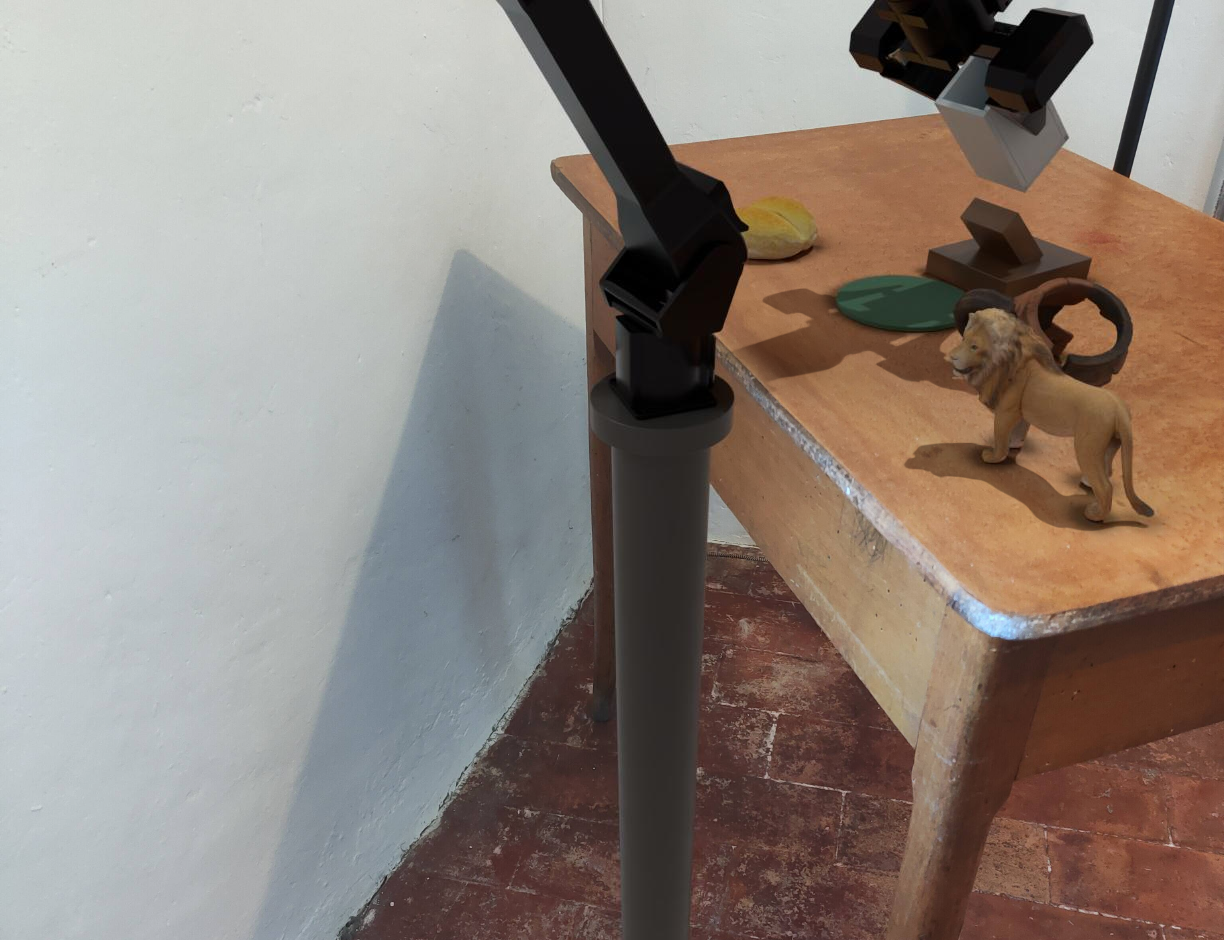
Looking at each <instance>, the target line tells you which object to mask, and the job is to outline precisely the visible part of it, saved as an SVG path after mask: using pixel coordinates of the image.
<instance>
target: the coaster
mask: <svg viewBox="0 0 1224 940" xmlns="http://www.w3.org/2000/svg"><path fill="white" fill-rule="evenodd" d="M837 291H838V292H837V293H836V298H835V302H836V306H837V308H838V309H839V311H840V312H842V313H843V315H845V316H847V317H848V318H850V319H852V320H853V321H855V322H858V323H861V324H863V325H867V326H870V327H873V328H877V329H881V330H882V329H883V330H889V331H897V332H907V333H909V332H912V333H916V332H917V333H918V332H935V331H940V330H941V331H942V330H947V329H951V328H954V327H956V326H955V322H954V315H953V313H952V311H953V308H954V306H955V304H956V302H958V301H959V300H960V298H961V297H962V296H963V295H964V294H965V293H966V292H965V291H963V290H961V288H958V287H956V286H955V285H953V284H952V285H951V284H949V283H946V282H943V281H941V280H936V279H931V278H927V277H922V276H921V277H920V276H915V275H914V276H913V275H899V274H898V275H897V274H896V275H895V274H892V275H891V274H890V275H888V274H887V275H876V276H875V275H874V276H868V277H862V278H859V279H856V280H853V281H850V282H849V283H846V284H844V286H841V288H840V289H839V290H837Z"/></svg>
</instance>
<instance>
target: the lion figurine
mask: <svg viewBox="0 0 1224 940" xmlns="http://www.w3.org/2000/svg"><path fill="white" fill-rule="evenodd" d="M948 360H949V362H950V363H952V365H953V366H952V373H953V375H954V376H955V377H957V378H962V377H964V379H965V381H966V382H967V384H968V385H969V386H971V387H972V388H973V389H974V390H975V391H977V392H978V396H979V397H978V401H979V402H980V404H982V405H983V406H984V407H987V408H988V409H990V410H992V411H994V419H993V435H994V447H993V448H986V449H983V451H982V454H981V458H982V459H983V462H985V463H989V464H998V463H1001V462H1002V461H1004V460H1005V459H1006V458H1007V456H1008V455H1009V452H1010V449H1012V448H1015V449H1017V448H1021V447H1022V446H1023V445H1024V444H1025V441H1026V440H1027V436H1028V432H1029V430H1030V427H1031V426H1033V427H1034V428H1036V429H1038V430H1040V431H1041V432H1043V433H1045V434H1047V435H1050V436H1053V437H1058V438H1073V449H1074V453H1075V459H1076V463H1077V465H1078V467H1079V470H1080V471H1081V472H1082V476H1081V482H1082V483H1083V485H1085V486H1086V487H1089V488H1091V490H1092V492H1093V494H1094V497H1095V499H1096V503H1088V504H1087V505H1086V506H1085V509H1084V516H1085V517H1086V519H1087V520H1091V521H1094V522H1100V521H1102V520H1104V519H1106V518H1107V517H1108V516H1109V514H1110V513H1111V511H1112V506H1113V505H1112V504H1113V492H1114V491H1113V490H1114V487H1113V484H1112V483H1111V481H1110V478H1112V476H1113V473H1114V471H1113V461H1114V458H1115V456H1116V455H1117V453H1118V452H1119V450H1120V461H1121V462H1120V463H1121V474H1122V483H1123V489H1124V490H1123V491H1124V493H1125V496H1126V499H1127V500H1128V502H1129V504H1130V506H1131V508H1132V509H1133V510H1134V511H1135V512H1136V514H1138V515H1139V516H1144V517H1146V518H1152V517H1154V516H1155V510H1154V508H1152V507H1151V506H1150V505H1149V504H1147V503H1146V502H1144V501H1143V500H1142V499H1141V498H1139V496H1137V494H1136V491H1135V488H1134V483H1133V458H1134V457H1133V454H1134V438H1133V429H1132V428H1133V426H1132V412H1131V409H1130V407H1129V406H1128V403H1127V402H1126V401H1125V400H1124V398H1123V397H1122V396H1120V394H1119V393H1118V392H1116V391H1114V390H1113V389H1109V388H1103V387H1095V386H1091V385H1088V384H1085V383H1083V382H1080V381H1078V380H1075V379H1074V378H1072V377H1070V376H1068V375H1066V374H1064V373H1062V372H1061V371H1060V369H1059V368H1058V367H1057V365H1056V363H1057V362H1056V360H1055V357H1054V355H1053V354H1052V352H1051V350H1050V349H1049V348H1048V347H1047V344H1045V343H1044V341H1043V339H1042V338H1041V337H1039V336H1037V335H1036V334H1034V333H1033V329H1032V328H1031V327H1029V326H1028V325H1026V324H1025V323H1024V321H1022V320H1020V319H1018V318H1016V317H1015V315H1014V314H1009V313H1006V312H1005V311H1004V310H1002V309H996V308H992V309H985V310H983V311H977V312H975V313H969V321H968V324H967V326H966V328H965V331H964V336H963V337H962V338H961V341H960V342H959V343H958V345H956V346H955V347H953V348H951V349H950V350H949V351H948ZM1055 362H1056V363H1055Z"/></svg>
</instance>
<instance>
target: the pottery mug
mask: <svg viewBox="0 0 1224 940" xmlns="http://www.w3.org/2000/svg"><path fill="white" fill-rule="evenodd" d="M1086 299H1087V301H1089V302H1091V303H1092V304H1094V305H1095V306H1097V308H1098V310H1099V315H1100V316H1101V317H1103V318H1104V319H1105V320H1107V321H1109V322H1110V323H1111V324H1113V325H1114V327H1115V330H1116V341H1115V343H1114V345H1113V346H1112V347H1111V348H1110V349H1109V350H1106V351H1105V352H1102V353H1099V354H1094V355H1081V354H1075V353H1072V352H1071V353H1068V354H1067V356H1066V359H1065V362H1064V364H1063V365H1061V364H1060V363H1058V362H1056V361H1055V363H1056V365H1057V367H1058V368H1059V369H1060V371H1061V372H1062V373H1064V374H1066V375H1068V376H1070V377H1072V378H1074V379H1075V380H1078V381H1080V382H1083V383H1085V384H1088V385H1091V386H1095V387H1099V388H1102V387H1103V386H1105V385H1108V384H1110V382H1111V381H1112V380H1113V379H1112V378H1113V377H1112V376H1114V375H1116V376H1117V375H1118V374H1119V373H1120V372H1121V370H1122V368H1123V367H1124V364H1125V362H1126V360H1127V359H1126V358H1127V357H1128V354H1129V347H1130V345H1131V344H1132V341H1133V336H1134V324H1133V321H1132V318H1131V315H1130V312H1129V310H1128V308H1127V306H1125V303H1124V302H1123V301H1122V300H1121V299H1120V298H1119V297H1118V296H1117V295H1116V294H1115V293H1113V292H1112V291H1111V290H1109V289H1107V288H1106V287H1104V286H1103V285H1100V284H1098V283H1094V282H1092V281H1089V280H1083V279H1078V278H1065V279H1064V278H1057V279H1054V280H1050V281H1047V282H1045V283H1043V284H1042V285H1040V286H1039V287H1038V288H1036V289H1033V290H1031V291H1028V292H1026V293H1024V294H1022V295H1020V296H1016V297H1014V298H1012V297H1008V296H1005V295H1003V294H1001V293H999V292H997V291H995V290H991V289H983V288H980V289H975V290H971V291H967V292H965V294H964V295H963V296H962V297H961V298H960V300H959V301H958V302H956V304H955V306H954V308H953V311H952V313H953V315H954V322H955V326H954V327H955V328H956V330H957V332H958V333H959V335H960V337H962V338H963V336H964V331H965V328H966V326H967V324H968V321H969V313H975V312H977V311H983V310H985V309H992V308H996V309H1002V310H1004V311H1005V312H1006V313H1009V314H1014V315H1015V317H1016V318H1018V319H1020V320H1022V321H1024V323H1025V324H1026V325H1028V326H1029V327H1031V328H1032V329H1033V333H1034V334H1036V335H1037V336H1039V337H1041V338H1042V339H1043V341H1044V343H1045V344H1047V347H1048V348H1049V349H1050V350H1051V352H1052V355H1053V356H1055V357H1061V355H1062V353H1063V352H1065V350H1066V348H1067V346H1068V345H1069V344H1070V343H1071V342H1072V341H1073V339H1074V338H1075V335H1074V334H1073V332H1071V331H1069V330H1067V329H1065V328H1063V327H1061V326H1060V325H1058V324H1057V323H1055V322H1054V321H1053V320H1054V318H1055V317H1056V316H1057V315H1058V314H1059V312H1061V311H1062V310H1063V309H1064V307H1066V306H1068V307H1069V306H1070V307H1071V306H1076V305H1078V304H1080V303H1082V302H1085V301H1086Z"/></svg>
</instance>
